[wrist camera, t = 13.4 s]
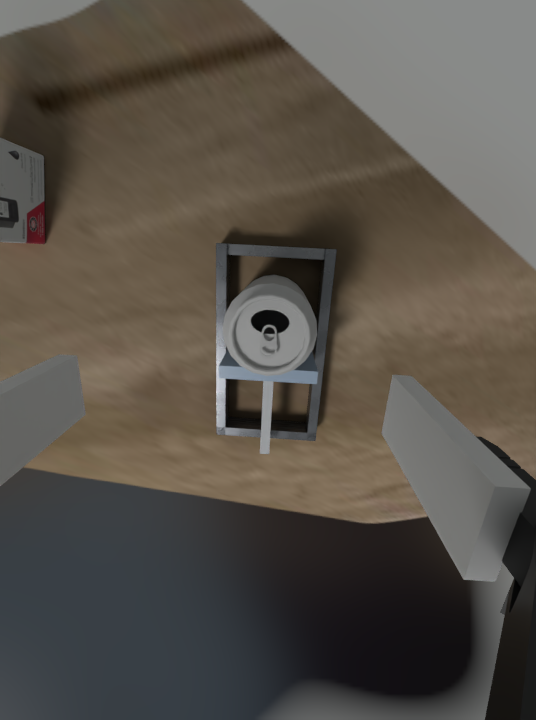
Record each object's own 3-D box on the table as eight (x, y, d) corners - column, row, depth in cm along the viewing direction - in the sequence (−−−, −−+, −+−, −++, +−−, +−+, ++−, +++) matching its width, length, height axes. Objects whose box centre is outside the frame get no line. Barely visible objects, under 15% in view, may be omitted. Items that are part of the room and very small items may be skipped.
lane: (220, 423, 40) (216, 434, 38) (220, 243, 33) (216, 243, 31) (313, 429, 40) (315, 440, 37) (332, 249, 33) (336, 249, 31)
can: (310, 276, 34) (325, 289, 22) (304, 345, 36) (313, 387, 25) (240, 271, 34) (219, 281, 23) (237, 340, 36) (217, 380, 25)
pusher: (230, 429, 40) (218, 471, 32) (232, 341, 36) (218, 365, 29) (302, 433, 40) (306, 477, 32) (310, 346, 36) (318, 371, 28)
